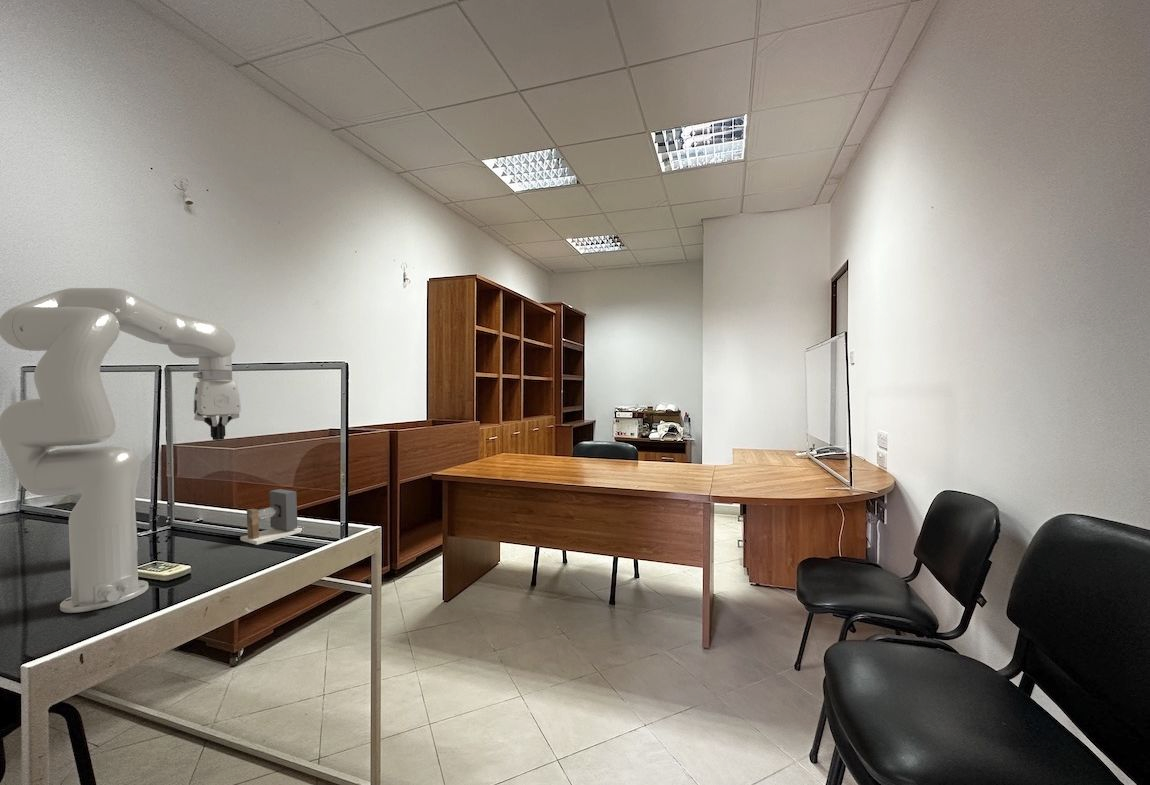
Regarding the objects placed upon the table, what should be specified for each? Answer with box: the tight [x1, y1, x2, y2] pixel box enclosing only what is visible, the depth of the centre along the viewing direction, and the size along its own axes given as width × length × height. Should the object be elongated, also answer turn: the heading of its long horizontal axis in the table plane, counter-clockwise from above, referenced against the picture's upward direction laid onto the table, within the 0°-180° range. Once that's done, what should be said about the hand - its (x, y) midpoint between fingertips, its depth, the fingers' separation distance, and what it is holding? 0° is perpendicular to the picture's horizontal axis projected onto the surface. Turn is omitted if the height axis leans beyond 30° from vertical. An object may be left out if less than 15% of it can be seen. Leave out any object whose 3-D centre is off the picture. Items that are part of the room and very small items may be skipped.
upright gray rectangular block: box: [268, 488, 299, 531], centre depth 134 cm, size 9×3×11 cm, turn 61°
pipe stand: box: [240, 505, 302, 546], centre depth 131 cm, size 9×13×9 cm
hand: (218, 439), depth 130 cm, fingers closed
